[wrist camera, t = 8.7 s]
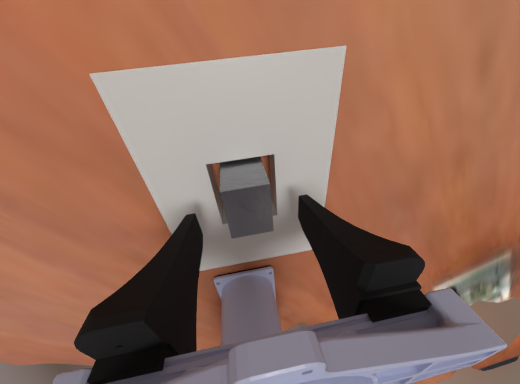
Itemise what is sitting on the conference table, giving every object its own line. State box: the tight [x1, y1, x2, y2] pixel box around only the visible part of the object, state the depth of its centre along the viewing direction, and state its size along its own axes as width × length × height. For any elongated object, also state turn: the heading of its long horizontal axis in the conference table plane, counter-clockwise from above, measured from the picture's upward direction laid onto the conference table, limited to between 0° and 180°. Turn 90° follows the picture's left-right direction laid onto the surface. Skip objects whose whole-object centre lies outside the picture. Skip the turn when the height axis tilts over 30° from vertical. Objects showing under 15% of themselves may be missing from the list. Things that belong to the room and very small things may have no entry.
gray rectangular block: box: [220, 156, 274, 239], centre depth 15 cm, size 4×3×6 cm
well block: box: [90, 46, 346, 271], centre depth 17 cm, size 18×14×2 cm
